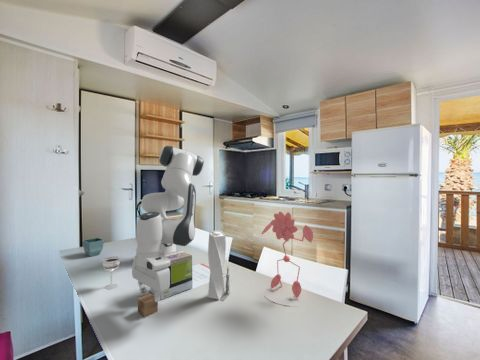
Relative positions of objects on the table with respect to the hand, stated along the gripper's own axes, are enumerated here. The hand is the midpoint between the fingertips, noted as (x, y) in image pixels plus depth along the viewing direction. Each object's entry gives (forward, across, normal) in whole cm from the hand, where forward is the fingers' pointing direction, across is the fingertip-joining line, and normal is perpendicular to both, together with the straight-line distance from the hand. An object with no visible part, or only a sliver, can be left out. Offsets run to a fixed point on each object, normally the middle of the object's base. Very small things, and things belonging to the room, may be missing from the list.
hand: (149, 296), depth 87 cm
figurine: (+6, +29, +43) cm, 52 cm away
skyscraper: (+6, +10, +25) cm, 27 cm away
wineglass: (+5, -31, -1) cm, 31 cm away
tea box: (+6, -9, +15) cm, 18 cm away
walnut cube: (+6, -1, 0) cm, 6 cm away
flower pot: (+5, -82, +8) cm, 82 cm away
